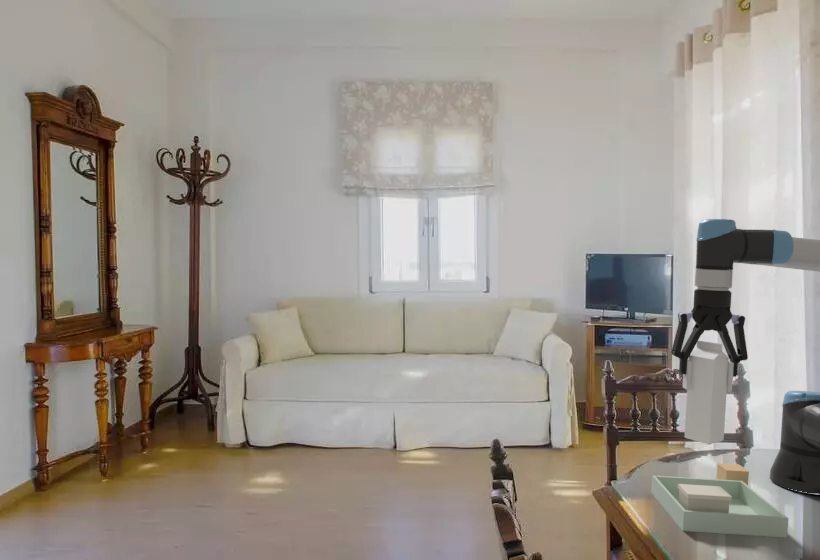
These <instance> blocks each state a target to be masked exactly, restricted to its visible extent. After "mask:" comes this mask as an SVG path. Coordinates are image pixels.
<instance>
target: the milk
mask: <svg viewBox="0 0 820 560" xmlns="http://www.w3.org/2000/svg"><path fill="white" fill-rule="evenodd" d="M725 353H726V352H724V351H723V343H717V342H712V341H711V342H710V341H702V340H698V341H697V343H696V347H694V349H693V351H692V352H691V354H690V356H689V358H688V359H689V360H691V361H692V362H691V379H690V390H686V404H685V405H686V406H685V421H684V423H685V424H684V438H685V439H689V440H692V441H695V442H700V443H702V444H707V445H712V444H717V443H720V442H723V441H724V439H725V422H726V409H727V394H728V393H727V392H728V391H727V377H728V361H730V359H729V357H728V355H727V353H726V354H725Z"/></svg>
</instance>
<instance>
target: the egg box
mask: <svg viewBox="0 0 820 560" xmlns="http://www.w3.org/2000/svg"><path fill="white" fill-rule="evenodd" d="M678 488H679V503H680V504H681V506H682V507H683V508H684V509H685V510H688V511H703V512H719V513H729V502H730V501H732V496H731V495H729V494H728V493H727V492H726V491H725V490H724V489H723V488H722V487H720V486H706V485H689V484H678Z"/></svg>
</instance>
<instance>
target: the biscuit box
mask: <svg viewBox="0 0 820 560" xmlns="http://www.w3.org/2000/svg"><path fill="white" fill-rule="evenodd" d="M716 467H717V468H716V479H719V480H735V481H743V482H744V483H745V484H747V485H748V486H749V476H750V475H749V474H750V473H749V472H750V471H748V470H747V469H746V468H745V467H744V466H742V465H741V464H738V463H723V462H722V463H721V462H717V466H716Z"/></svg>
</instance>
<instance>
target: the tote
mask: <svg viewBox="0 0 820 560" xmlns="http://www.w3.org/2000/svg"><path fill="white" fill-rule="evenodd" d="M678 484H689V485H706V486H720V487H722V488H723V489H724V490H725V491H726V492H727V493H728V494H729V495H731V496H732V501H730V502H729V513H719V512H703V511H688V510H685V509H684V508H683V507H682V506H681V504H680V503H679V488H678ZM650 489H651V490H650V493H651V495H652V496H653V497H654V499H656V500H657V502H658V503H659V504H660V505H661V506H662V508H663V510H664V511H665V512H667V514H668V515H669V517H670V518H671V519H672V520H673V521H674V522H675V524H676V525H677V526H678V527H679V529H680V530H681V531H682V532H689V533H690V532H692V533H706V534H707V533H708V534H723V535H736V536H737V535H742V536H755V537H765V538H766V537H769V538H770V537H771V538H783V539H785V538H786V539H787V538H788V533H789V532H788V528H789V517H788V516H786V515H785V513H783V512H781V511H780V510H779V509H778V508H777V507H776V506H774V505H773V504H772V503H770V502H769V501H768V500H767V499H766V498H764V497H763V496H761V494H759V493H758V492H757V491H755V490H754V489H753V488H751V487H750V486H749V484H748V485H747V484H745V483H744V482H743V481H735V480H719V479H714V478H699V477H687V476H686V477H683V476H670V475H669V476H667V475H654V474H653V475H651V487H650Z"/></svg>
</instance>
